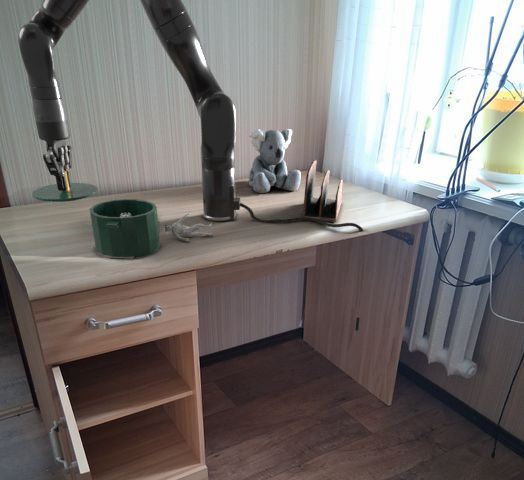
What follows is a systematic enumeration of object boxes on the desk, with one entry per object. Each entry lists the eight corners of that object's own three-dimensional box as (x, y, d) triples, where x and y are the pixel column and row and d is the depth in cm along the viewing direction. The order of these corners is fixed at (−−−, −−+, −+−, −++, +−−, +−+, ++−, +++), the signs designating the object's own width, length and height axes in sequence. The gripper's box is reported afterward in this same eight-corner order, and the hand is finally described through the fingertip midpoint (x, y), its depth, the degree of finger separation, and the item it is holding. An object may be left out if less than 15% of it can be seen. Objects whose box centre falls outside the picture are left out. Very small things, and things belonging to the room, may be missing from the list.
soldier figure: (212, 244, 134) (168, 235, 128) (205, 251, 138) (162, 243, 132) (212, 217, 136) (169, 207, 130) (205, 225, 140) (163, 216, 134)
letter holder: (302, 220, 149) (305, 170, 142) (310, 201, 166) (313, 156, 158) (336, 222, 147) (341, 172, 140) (341, 203, 164) (345, 158, 156)
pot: (167, 234, 137) (164, 197, 131) (149, 264, 119) (145, 222, 114) (110, 232, 137) (104, 195, 132) (83, 262, 119) (76, 220, 114)
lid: (105, 187, 144) (102, 164, 140) (86, 204, 129) (81, 179, 126) (47, 186, 144) (43, 163, 141) (22, 203, 130) (16, 178, 127)
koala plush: (256, 195, 171) (256, 132, 160) (238, 182, 185) (238, 124, 175) (302, 191, 176) (306, 130, 166) (282, 179, 190) (284, 122, 180)
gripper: (55, 122, 121) (69, 196, 130) (75, 114, 132) (87, 182, 142) (24, 122, 121) (40, 195, 130) (47, 114, 133) (60, 182, 142)
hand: (64, 188), depth 136 cm, fingers closed on lid, 2 cm apart
